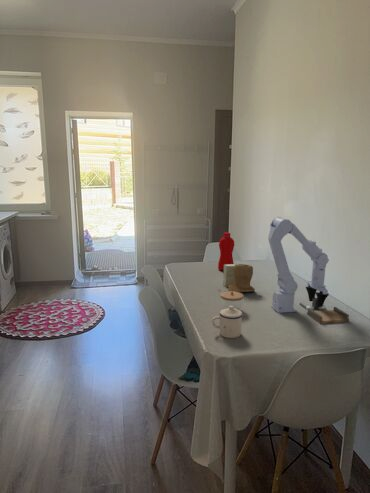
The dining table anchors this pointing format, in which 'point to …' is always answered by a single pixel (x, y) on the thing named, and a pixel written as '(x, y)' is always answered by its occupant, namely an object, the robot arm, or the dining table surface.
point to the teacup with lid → (229, 322)
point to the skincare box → (228, 275)
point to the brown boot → (242, 278)
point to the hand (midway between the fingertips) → (315, 303)
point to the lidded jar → (231, 299)
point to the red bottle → (225, 251)
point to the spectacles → (313, 305)
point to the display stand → (329, 316)
